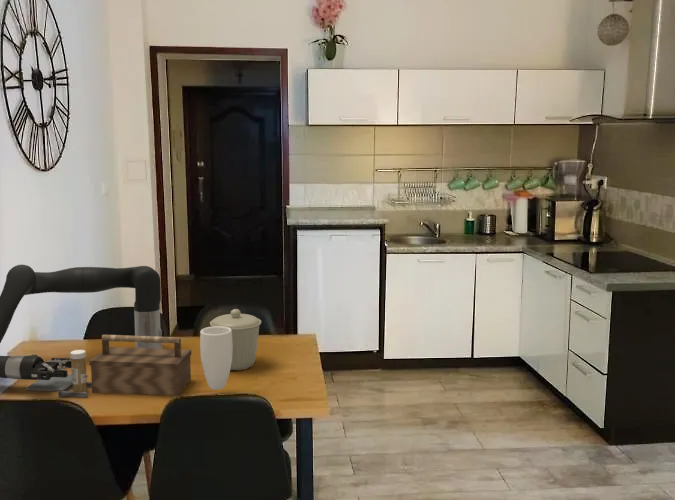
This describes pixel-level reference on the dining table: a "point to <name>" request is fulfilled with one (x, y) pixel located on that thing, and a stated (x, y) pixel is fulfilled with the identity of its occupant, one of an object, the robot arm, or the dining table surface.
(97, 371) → the toolbox
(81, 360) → the sprinkles bottle
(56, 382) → the slate mat
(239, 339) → the canister
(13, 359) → the robot arm
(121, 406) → the dining table surface
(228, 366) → the cup
